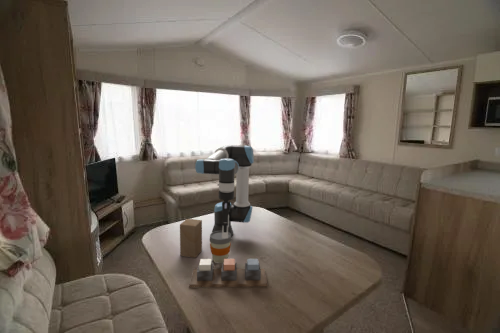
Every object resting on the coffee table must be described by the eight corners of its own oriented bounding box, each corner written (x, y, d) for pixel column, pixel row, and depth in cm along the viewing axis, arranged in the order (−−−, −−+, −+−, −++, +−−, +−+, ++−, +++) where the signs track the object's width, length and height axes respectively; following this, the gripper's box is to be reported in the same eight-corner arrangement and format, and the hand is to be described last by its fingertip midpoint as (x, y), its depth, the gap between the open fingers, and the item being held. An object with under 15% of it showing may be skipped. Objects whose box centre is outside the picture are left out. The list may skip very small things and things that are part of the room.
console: (189, 287, 121) (189, 275, 120) (193, 271, 134) (193, 260, 133) (267, 286, 124) (267, 274, 123) (264, 271, 136) (264, 260, 135)
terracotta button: (223, 274, 125) (223, 264, 124) (223, 267, 131) (224, 258, 130) (234, 273, 125) (234, 264, 125) (234, 267, 131) (234, 258, 130)
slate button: (247, 273, 126) (247, 264, 125) (246, 267, 131) (247, 258, 131) (258, 273, 126) (258, 264, 125) (257, 267, 132) (257, 258, 131)
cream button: (199, 274, 124) (199, 264, 124) (200, 267, 130) (200, 258, 129) (210, 274, 125) (210, 264, 124) (211, 267, 130) (211, 258, 129)
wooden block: (195, 258, 147) (195, 226, 144) (180, 256, 149) (179, 224, 146) (202, 250, 157) (202, 219, 154) (187, 248, 159) (187, 218, 156)
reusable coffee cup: (205, 261, 144) (205, 237, 141) (215, 251, 155) (215, 229, 153) (225, 266, 140) (225, 241, 137) (234, 256, 151) (234, 232, 149)
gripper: (220, 184, 134) (219, 222, 137) (216, 197, 109) (216, 243, 112) (234, 185, 134) (233, 223, 137) (233, 197, 109) (232, 243, 112)
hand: (225, 232), depth 125 cm, fingers open, 13 cm apart
